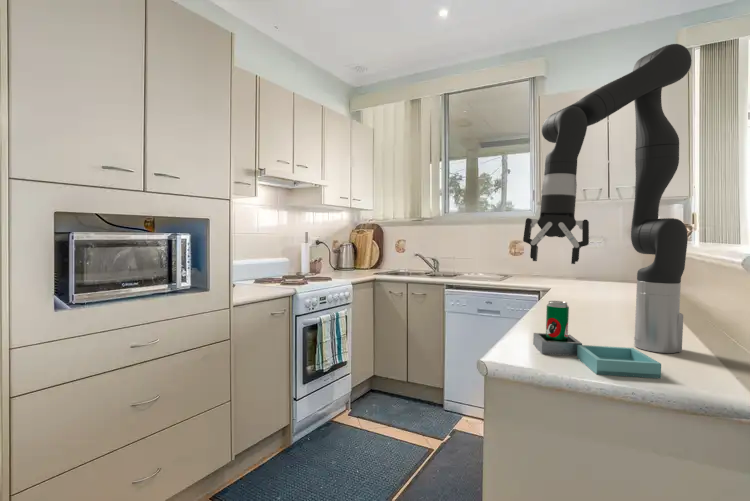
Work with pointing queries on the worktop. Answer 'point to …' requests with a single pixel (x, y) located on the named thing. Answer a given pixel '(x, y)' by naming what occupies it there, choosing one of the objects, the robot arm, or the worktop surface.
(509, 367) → the worktop surface
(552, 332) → the soda can
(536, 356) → the worktop surface
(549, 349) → the grey square bin
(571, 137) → the robot arm
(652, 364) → the tray
